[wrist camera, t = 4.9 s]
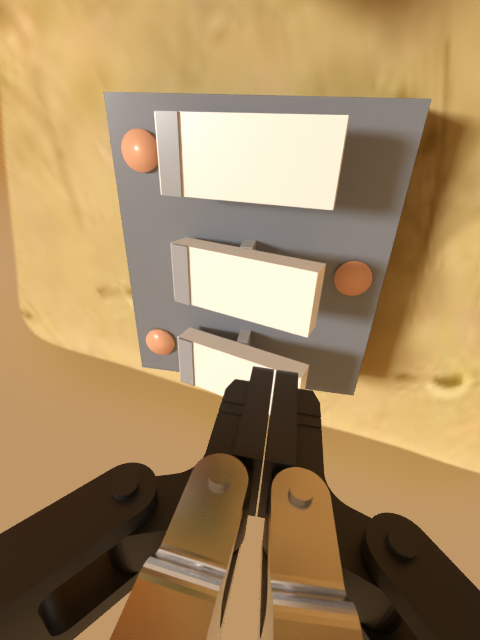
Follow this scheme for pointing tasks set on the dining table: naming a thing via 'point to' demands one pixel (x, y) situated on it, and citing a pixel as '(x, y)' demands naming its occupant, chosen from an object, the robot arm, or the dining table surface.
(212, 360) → the rocker far
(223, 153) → the rocker near
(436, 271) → the dining table surface
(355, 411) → the dining table surface
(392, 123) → the switch panel
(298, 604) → the robot arm
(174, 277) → the rocker mid
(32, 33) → the dining table surface
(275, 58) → the dining table surface
